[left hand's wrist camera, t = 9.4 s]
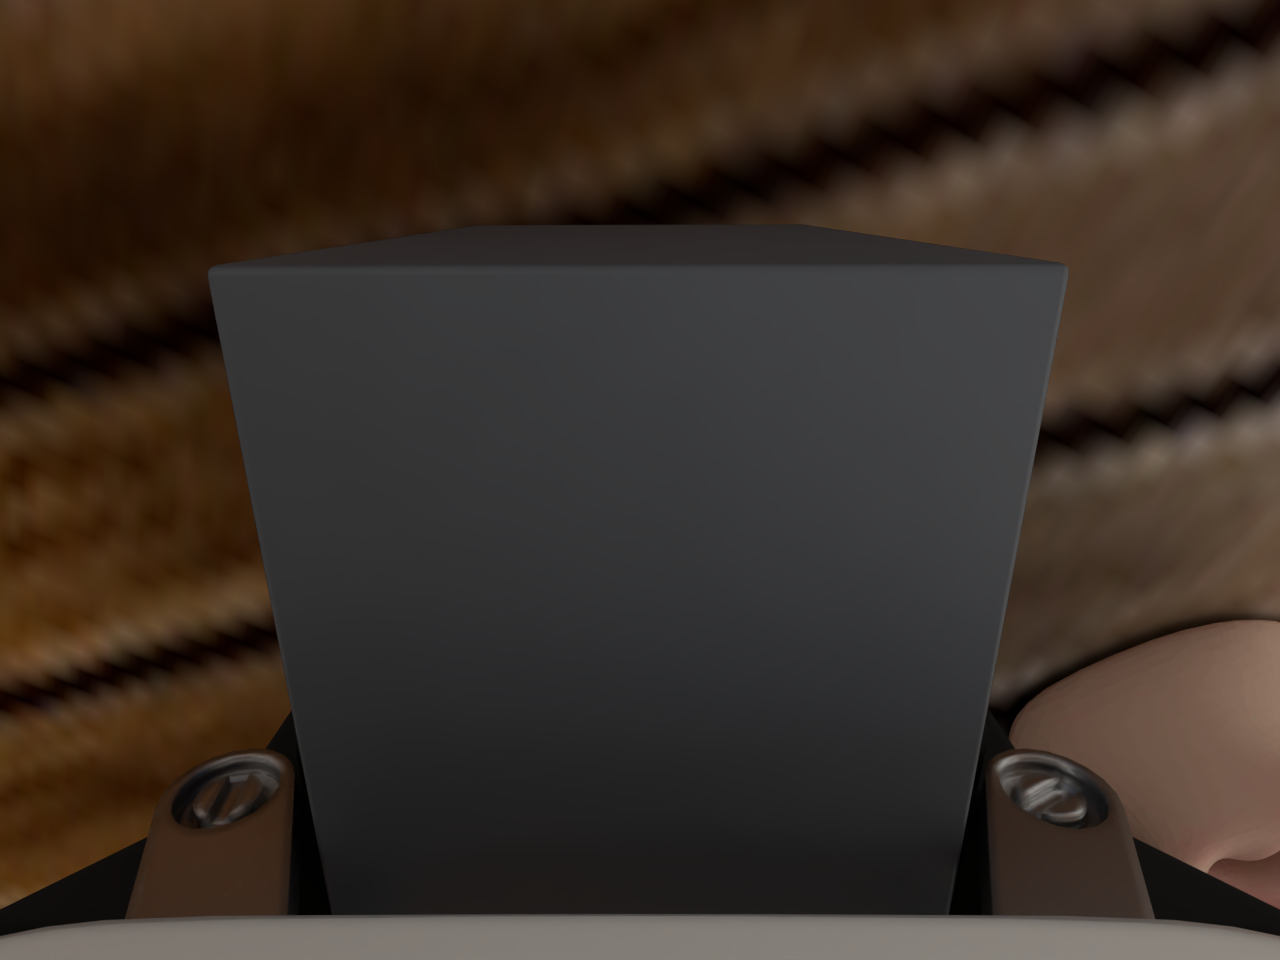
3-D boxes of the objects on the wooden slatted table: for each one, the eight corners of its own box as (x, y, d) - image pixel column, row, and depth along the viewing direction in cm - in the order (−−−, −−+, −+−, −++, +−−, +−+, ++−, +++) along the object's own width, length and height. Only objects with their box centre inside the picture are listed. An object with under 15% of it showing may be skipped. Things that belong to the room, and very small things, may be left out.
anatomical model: (991, 865, 20) (1420, 595, 17) (936, 759, 23) (1280, 523, 21) (1245, 1105, 23) (1639, 911, 20) (1161, 978, 27) (1484, 800, 24)
